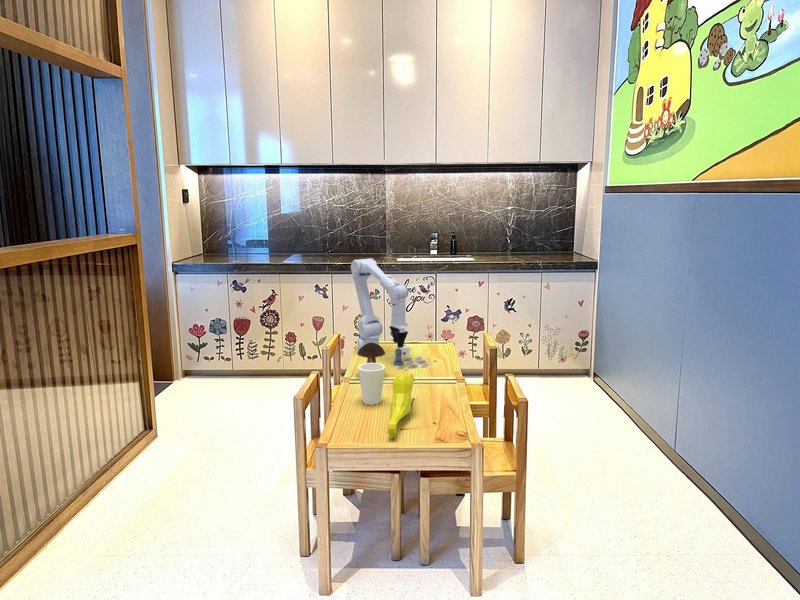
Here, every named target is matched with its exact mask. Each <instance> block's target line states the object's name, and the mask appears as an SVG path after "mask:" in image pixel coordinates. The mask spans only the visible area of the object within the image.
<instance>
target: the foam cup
mask: <svg viewBox="0 0 800 600" xmlns="http://www.w3.org/2000/svg"><path fill="white" fill-rule="evenodd" d="M385 374H386V367H385V365H384V364H383V363H380V362H379V363H378V362H376V363H367V362H366V363H362V364H360V365H358V376H359V377H358V378H359V383H360V390H361V397H362V401H363V402H364V403H365V404H364V405H367V404H370V405H369V406H375V405H374V404H376V405H379V404H381V401H382V393H383V387H384V379H385ZM363 402H362V403H363ZM378 403H379V404H378Z"/></svg>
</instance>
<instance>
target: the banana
mask: <svg viewBox="0 0 800 600" xmlns="http://www.w3.org/2000/svg"><path fill="white" fill-rule="evenodd" d="M407 368H408V367H407ZM407 368H405V369H402V372H400V373H397V375H396V376H395V377H394V378H393V380H392V381H393V382H392V399H391V403H390V412H391V417H390V419H389V422H388V424H387V431H386V434H387V433H388V435H389V438H390V439H391V438H394V439H395V438H396V435H397V433H398V430H397V429H398V423H399V421H401V420H402V419H403V418H404V417H406V416H407V415H409V413H411V409H412V402H413V401H414V400H415V399H414V398H415V397H412V390H413V386H414V385H413V384H414V382H416V379H415V377H414V375H413V373H410V374H409V373H406V372H407V371H408V369H407ZM413 399H414V400H413Z"/></svg>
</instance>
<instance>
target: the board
mask: <svg viewBox="0 0 800 600" xmlns="http://www.w3.org/2000/svg"><path fill="white" fill-rule="evenodd" d="M389 361H390V362H391V363H392V365H393V366H394V368H395V369H396V370H404V369H405V368H407V370H410V369H411V370H412V369H425V368H432V366H431V365H430V364H429V363H428V362H427V361H426V360H425V359H424V358H423V356H417V357H416V356H415V357H402V361H403V365H394V361H395V358H390V359H389Z"/></svg>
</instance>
